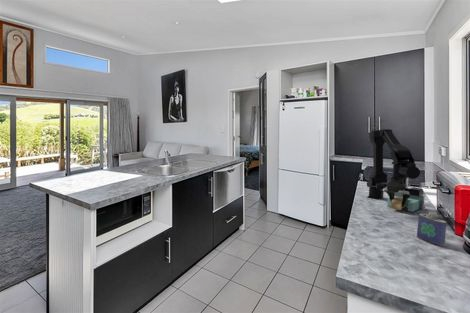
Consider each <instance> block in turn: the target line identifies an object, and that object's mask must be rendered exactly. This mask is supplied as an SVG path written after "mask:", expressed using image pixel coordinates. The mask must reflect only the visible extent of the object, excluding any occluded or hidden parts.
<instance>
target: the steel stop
mask: <svg viewBox="0 0 470 313" xmlns="http://www.w3.org/2000/svg"><path fill="white" fill-rule="evenodd" d="M404 193H405V192H402V191H399V192H395V194H394V196H399V197H403V195H402V194H404ZM409 199H414V200H419V209H418V210H420V211H422V210H425V209H426V206H425V195H424V194H423V195H421V196H414V195H412V196H410V197H409Z"/></svg>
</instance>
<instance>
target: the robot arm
mask: <svg viewBox="0 0 470 313" xmlns="http://www.w3.org/2000/svg"><path fill="white" fill-rule="evenodd" d="M368 135H369V136H368V137H369V142H370V143H371V144H372V147H373V148H372V152H373V154H372V156H373V158H372V159H373V161H372V164H373V170H372V172H371V173H370V175H369V178H368V180H367V182H366V187H367V188H368V189H369V190H368V196H367V198H369V199H375V200H381V199H384V198H385V197H384V195H385V194H384V193H386V194H387V196H388V198H390V201H391V202H392V200H393V199H394V194H395V192H399V191H404V192H405V193H404V194H402V195H403V200H402V207H404V205H405V203H406V202H407V200H408V198H409V197H410V196H412V195H414V196H421V195H424V189H423V188H420V187H410V188H409V187H408V188H406V187H407V185H406V180H407V178H408V179H411V180H414V179H417V178H418V177H419V176H420V175H421V170H420V169H419V167H417V164H416V163H415V159H414V157H413V154H412V152H411V150H410V149H409V148H408V147H407V146H405V145H403V144H402V143H400V141H399V140H398V139H397V137H396V136H395V134H394V133H393V130H392V129H390V128H382V129H373V130H371V131H370V132H369V134H368ZM385 144H386V145H387V146H388V148H389V149H390V152H389V155H390V158H391V160H392V162H391V165H392V176H391V178H390V181H388V174H387V173H386V172H385V171H384V145H385ZM408 160H409V161H408ZM404 208H405V207H404Z"/></svg>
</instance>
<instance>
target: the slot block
mask: <svg viewBox="0 0 470 313" xmlns="http://www.w3.org/2000/svg"><path fill="white" fill-rule="evenodd" d="M396 197H397V196H394V198H396ZM398 197H399V196H398ZM386 203H387V205H386V206H387V207H390V208H391V201H390V198H389V197H387V202H386ZM404 208H405V209H407V212H412V213H414V212H415V211H417V210H420V209H419V200H414V199H409V198H408V200H407V202H406V206H405V207H404Z"/></svg>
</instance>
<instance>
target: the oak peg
mask: <svg viewBox="0 0 470 313" xmlns="http://www.w3.org/2000/svg"><path fill="white" fill-rule="evenodd" d="M402 200H403V197H398V196H397V197H396V198H394V199H393V200H392V202H391V207H390V208H391V209H393V210H399V211H401V210H403V209H404V208H406V207H405V206H406V203H405V205H404V207H402Z"/></svg>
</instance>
